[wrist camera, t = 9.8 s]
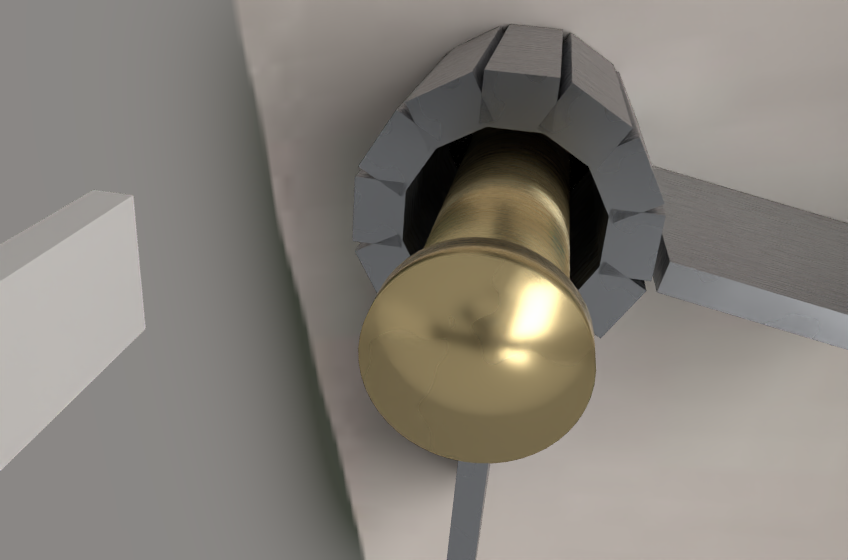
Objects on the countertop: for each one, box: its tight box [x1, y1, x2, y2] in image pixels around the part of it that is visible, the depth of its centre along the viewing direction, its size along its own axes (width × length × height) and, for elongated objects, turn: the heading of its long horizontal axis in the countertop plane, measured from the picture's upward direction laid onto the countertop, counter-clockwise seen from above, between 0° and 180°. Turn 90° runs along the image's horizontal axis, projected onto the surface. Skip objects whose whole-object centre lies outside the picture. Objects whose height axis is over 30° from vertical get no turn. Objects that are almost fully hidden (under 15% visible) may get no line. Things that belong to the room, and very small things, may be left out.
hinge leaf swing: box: [652, 166, 848, 350], centre depth 21 cm, size 10×1×8 cm, turn 76°
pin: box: [358, 127, 596, 463], centre depth 19 cm, size 4×4×14 cm
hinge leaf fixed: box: [353, 24, 666, 560], centre depth 24 cm, size 17×7×8 cm, turn 176°
